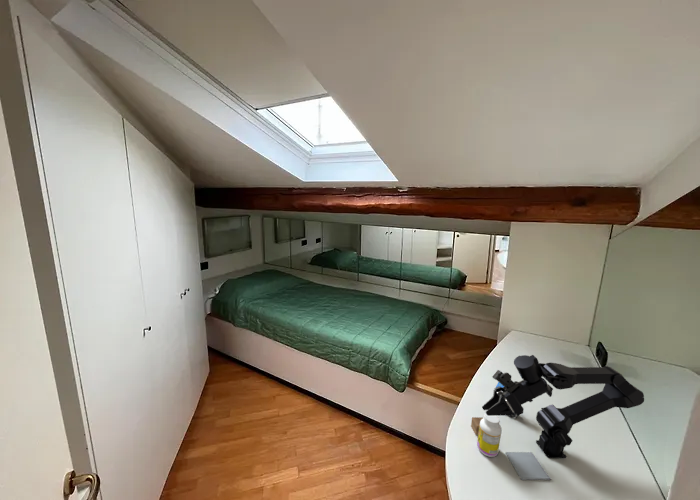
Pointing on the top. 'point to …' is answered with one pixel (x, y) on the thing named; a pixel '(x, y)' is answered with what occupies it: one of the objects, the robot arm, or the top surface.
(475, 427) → the walnut block
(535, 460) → the slate pad
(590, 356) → the top surface
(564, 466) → the top surface
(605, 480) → the top surface
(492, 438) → the supplement bottle
